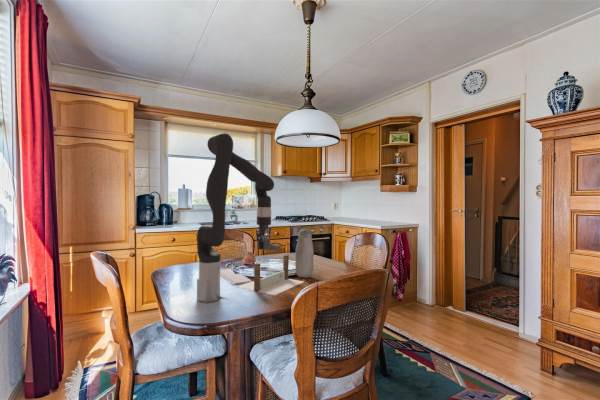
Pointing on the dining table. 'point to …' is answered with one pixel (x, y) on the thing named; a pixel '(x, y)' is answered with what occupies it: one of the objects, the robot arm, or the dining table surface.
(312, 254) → the grey bottle
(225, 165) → the robot arm
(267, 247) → the doorstop
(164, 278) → the dining table surface
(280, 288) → the floor mat
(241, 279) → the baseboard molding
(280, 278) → the gate door
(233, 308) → the dining table surface
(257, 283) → the gate frame
